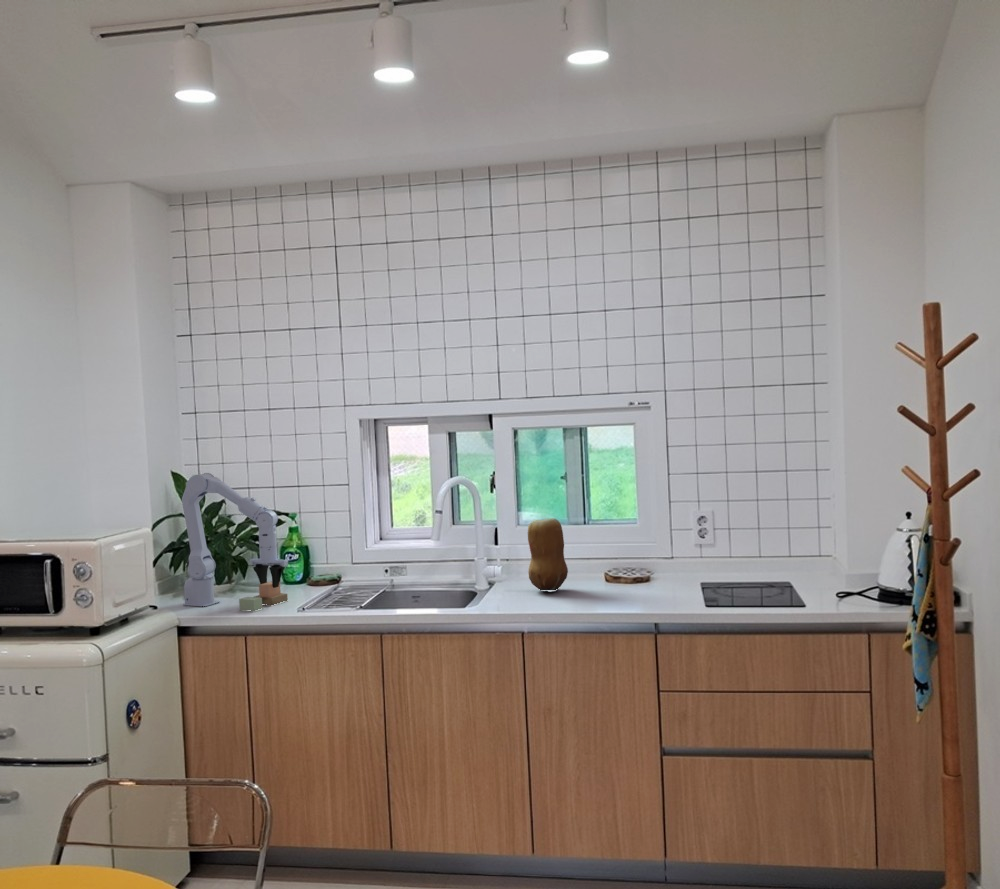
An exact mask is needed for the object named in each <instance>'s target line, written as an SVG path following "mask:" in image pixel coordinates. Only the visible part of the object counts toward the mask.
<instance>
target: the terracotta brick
mask: <svg viewBox="0 0 1000 889" xmlns="http://www.w3.org/2000/svg"><path fill="white" fill-rule="evenodd" d="M258 589H259V590H258V591H259V592H258V593H259V594H258V595H259V597H272V596H275V595H279V594H281V581H279V587H276V588H273V585H272V581H267V583H264V584H260V583H259V585H258Z"/></svg>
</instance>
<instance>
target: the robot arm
mask: <svg viewBox="0 0 1000 889" xmlns="http://www.w3.org/2000/svg"><path fill="white" fill-rule="evenodd" d="M207 494H219V495H220V496H221V497H223V498H225V499H226V500H228V501H230V502H231V503H233V504H234V505H235V506H237V509H238V511H239V512H240V513H241V514H243V515H244V516H246V517H247V518H249V519H250V520H252V521H253V522H255V524H256V527H258V543H259V544H258V545H259V546H258V547H259V548H258V551H259V558H251V559H249V565H250V566H253V571H254V572H255V573H256V576H257V578H258V582H259V585H260V584H264V583H267V582H268V569H269V572H270V575H271V582H272V585H273V588H276V587H279V582H281V577H282V574H283V572H284V570H285V567H288V566H289V560H288V559H282V558H278V543H277V539H278V538H277V523H278V521H279V520H278V519H279V517H278V514H277V512H275V511H274V510H273V509H268V507H267V506H265V505H264V506H263V505H262V504H261V503H259V502H258V501H256V500H257V499H256V498H255V497H250V496H247V497H244V496H242V495H241V494H240V493H239V492H237V491H235V489H234V488H232V487H230V486H229V485H228V484H226V483H225V482H224V481H223V480H222V479H220V478H219V477H217V476H214V474H212V473H210V472H205V473H201V474H193V475H192V476H190V478H189V479H188V480H187V481H186V482H185V488H184V492H183V495H182V497H181V503H182V511H183V515H184V522H185V526H186V532H187V537H188V544H189V549H190V552H189V553H190V554H189V555H188V565H187V566H188V567H187V573H188V575H189V576H190V577H188V578H187V579H186V580H185V583H184V586H183V592H184V603H182V604H183V606H190V607H191V606H192V607H202V606H203V607H204V606H205V607H208V606H212V605H215V603H216V604H219V603H221V600H215V586H214V585H215V584H214V574H213V573H214V571H215V570H216V566H217V565H216V561H215V559H214V558H213V557H212V552H211V550H210V549H209V548H208V546H207V540H206V536H205V534H206V533H205V530H204V523H203V518H202V513H201V508H200V501H201V500H202V499H203V498H204V496H206V495H207ZM254 565H255V566H254ZM269 566H270V567H269ZM218 602H219V603H218Z"/></svg>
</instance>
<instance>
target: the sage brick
mask: <svg viewBox="0 0 1000 889" xmlns="http://www.w3.org/2000/svg"><path fill="white" fill-rule="evenodd" d="M238 601H239V602H238V603H239V604H238V606H239V611H240V610H251V611H255V610H258V609H261V608H262V609H263V605H262V598H259V597H254V596H245V597H243V598H239V599H238Z"/></svg>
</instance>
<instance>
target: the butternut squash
mask: <svg viewBox="0 0 1000 889" xmlns="http://www.w3.org/2000/svg"><path fill="white" fill-rule="evenodd" d="M564 541H565V540H564V531H563V527H562V525H561V523H560V521H559V520H558V519H556V518H544V519H535V520H533V521H531V522H530V523H529V524H528V526H527V542H528V547H529V551H530V556H531V557H530V562H529V567H528V571H527V572H528V579H529V581H530V582H531V584H532V585H533V586H534V587H535V588H537V589H538V590H539V589H540V590H539V591H541V590H556V589H558V588H559V587H560V588H561V586H562V585H563V583H564V582H565V581H566V579H567V578H568V572H569V568H568V565H567V563H566V560H565V554H564V552H565V542H564ZM560 588H559V589H560ZM559 589H558V590H559Z"/></svg>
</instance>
